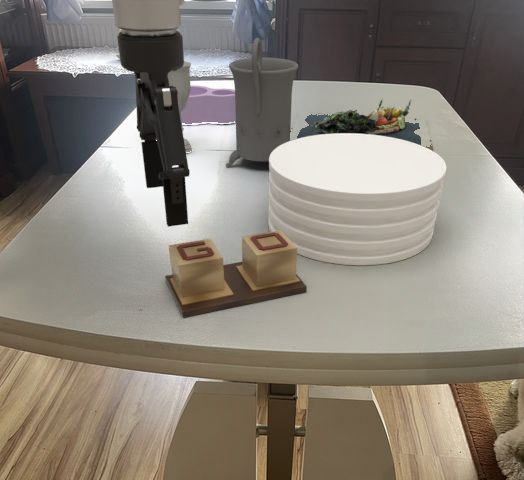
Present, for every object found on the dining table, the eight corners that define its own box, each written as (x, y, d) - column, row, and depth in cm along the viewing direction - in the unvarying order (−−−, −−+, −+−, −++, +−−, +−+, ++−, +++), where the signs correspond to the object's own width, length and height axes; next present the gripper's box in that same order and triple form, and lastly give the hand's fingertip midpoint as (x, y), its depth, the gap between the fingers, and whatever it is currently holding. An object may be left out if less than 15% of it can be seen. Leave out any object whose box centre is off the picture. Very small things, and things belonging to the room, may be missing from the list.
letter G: (182, 297, 74) (178, 263, 71) (172, 276, 79) (168, 243, 75) (224, 289, 76) (223, 256, 73) (212, 269, 80) (210, 237, 77)
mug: (238, 148, 127) (234, 24, 112) (301, 152, 125) (306, 26, 110) (219, 177, 113) (212, 39, 97) (290, 182, 111) (294, 42, 95)
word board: (183, 318, 73) (182, 310, 72) (165, 281, 80) (164, 274, 79) (306, 292, 78) (306, 284, 77) (279, 260, 85) (279, 253, 84)
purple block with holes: (241, 114, 150) (241, 87, 145) (232, 128, 140) (231, 99, 136) (170, 111, 152) (168, 84, 148) (157, 124, 142) (153, 95, 138)
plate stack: (263, 195, 105) (263, 134, 98) (407, 192, 106) (417, 131, 99) (274, 268, 83) (276, 195, 76) (455, 263, 84) (473, 191, 77)
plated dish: (426, 118, 147) (431, 89, 143) (435, 154, 126) (441, 121, 121) (296, 114, 152) (297, 85, 147) (284, 148, 130) (284, 115, 125)
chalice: (203, 151, 126) (198, 64, 115) (179, 158, 122) (172, 68, 111) (183, 143, 130) (176, 59, 119) (160, 150, 126) (151, 63, 115)
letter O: (256, 287, 76) (256, 253, 73) (242, 267, 81) (241, 235, 78) (296, 279, 78) (297, 246, 75) (279, 260, 83) (280, 228, 79)
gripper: (210, 48, 56) (217, 238, 69) (158, 15, 74) (172, 170, 87) (136, 51, 53) (158, 247, 66) (102, 16, 72) (124, 175, 85)
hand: (166, 204), depth 77 cm, fingers open, 13 cm apart
